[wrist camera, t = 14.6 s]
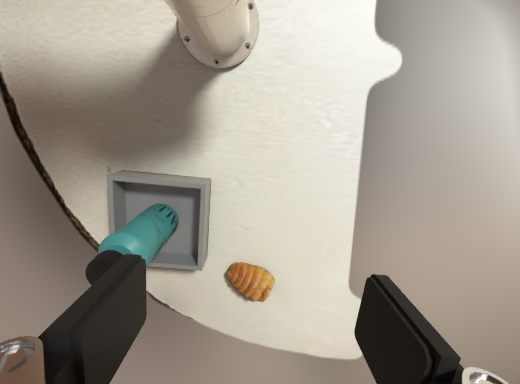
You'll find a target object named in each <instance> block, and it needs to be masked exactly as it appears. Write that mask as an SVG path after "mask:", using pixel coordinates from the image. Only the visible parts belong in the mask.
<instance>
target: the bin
mask: <svg viewBox="0 0 520 384" xmlns="http://www.w3.org/2000/svg"><path fill="white" fill-rule="evenodd" d="M107 179H108V200H109V220H110V235H111V234H113V233H114V232H116V231H117V230H118V229H120V228H121V227H123V226H124V225H126V224H127V223H128V222H130V221H131V220H133V219H134V218H135V217H136V216H138V215H139V213H140V214H141V213H142V212H143V210H144V211H145V210H146V208H147V209H148V208H149V207H150V206H152V205H155V204H160V203H162V204H166V205H168V206H170V207H172V208H173V209H174V210H175V211H176V213H177V215H178V218H179V219H178V220H179V222H178V225H179V226H178V228H177V229H176V231H175V232H174V233H173V235H172V236H170V238H169V239H168V241H167V243H165V244H164V245H163V247H162V248H161V249H160V250H159V251H160V252H157V253H158V254H156V255H155V256H156V257H155V256H154V257H153V258H154V259H153V260H151V261H150V262H149V263H148V264H147V266H151V267H163V268H175V269H188V270H200V271H202V269H203V266H204V264H205V261H206V258H207V249H208V231H209V213H210V194H211V179H210V178H199V177H189V176H179V175H168V174H158V173H147V172H137V171H126V170H122V171H119V172H116V173H113V174H109V175H107Z"/></svg>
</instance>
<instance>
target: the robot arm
mask: <svg viewBox="0 0 520 384" xmlns="http://www.w3.org/2000/svg"><path fill="white" fill-rule="evenodd" d="M165 2H166V3H167V4H168V6H169V7H170V9H171V10H172V11H173V13H174V14H175V16H176V17H177V18H178V27H179V31H180V36H181V38H182V40H183V43H184V44H185V46H186V48H187V49H188V51H189V52H190V53H191V54H192V55H193V56H194V57H195V58H196V59H197V60H198V61H200V62H201V63H203V64H205V65H207V66H210V67H214V68H228V67H232V66H235V65H237V64H239V63H240V62H242V61H243V60H244V59H245V58H246V57H247V56H248V55H249V54H250V53H251V51H252V49H253V48H254V46H255V43H256V41H257V37H258V32H259V16H258V11H257V7H256V5H255V2H254V0H165ZM250 7H251V8H252V9H251V10H250V9H249V8H250ZM188 39H190V41H189V42H187V40H188ZM247 46H249V49H247V48H246V47H247ZM217 61H218V62H219V63H218V64H216V62H217ZM145 319H146V260H145V259H142V257H141V255H135V254H125V255H123V256H122V257H121V258H120V259H119V260H118V261H117V262H116V263H115V264H114V265H113V266H112V267H111V268H110V269H109V270H108V271H107V272H106V273H105V274H103V275H102V276H101V277H100V278H99V279H98V280H97V281H96V282H95V283H94V284H93V285H92V286H91V287H90V288H89V289H88V290H87V291H86V292H85V293H84V294H83V295H81V296H80V297H79V298H78V299H77V300H76V301H75V302H74V303H73V304H72V305H71V306H70V307H69V308H68V309H67V310H66V311H65V312H64V313H63V314H62V315H61V316H60V317H58V318H57V319H56V320H55V321H54V322H53V323H52V324H51V325H50V326H49V327H48V328H47V329H46V330H45V331H44V332H43V333H42V334H41V335H40V336H39V337H38V338H37V337H32V336H24V337H17V338H14V339H10V340H7V341H4V342H2V343H0V384H109V383H110V381H111V380H112V378H113V376H114V375H115V373H116V371H117V369H118V368H119V366H120V364H121V362H122V361H123V359H124V357H125V356H126V354H127V352H128V350H129V349H130V347H131V345H132V343H133V342H134V340H135V338H136V337H137V335H138V333H139V331H140V330H141V328H142V326H143V324H144V322H145ZM355 338H356V341H357V343H358V345H359V347H360V349H361V351H362V353H363V355H364V358H365V360H366V362H367V364H368V366H369V368H370V370H371V372H372V374H373V377H374V379H375V381H376V383H377V384H508V383H507V382H505V381H504V380H503V379H501V378H500V377H498V376H496V375H494V374H493V373H491V372H488V371H486V370H483V369H479V368H476V367H468V368H466V369H464V368H463V367H462V366H461V365H460V364H459V362H460V359H461V358H460V357H459V356H458V354H457V353H456V352H455V351H454V350H453V349H452V348H451V347H450V346H449V344H448V343H447V342H446V341H445V340H444V339H443V338H442V337H441V335H440V334H439V333H438V332H437V331H436V330H435V329H434V328H433V326H432V325H431V324H430V323H429V322H428V321H427V320H426V319H425V318H424V316H423V315H422V314H421V313H420V312H419V311H418V310H417V308H416V307H415V306H414V305H413V304H412V303H411V302H410V301H409V300H408V298H407V297H406V296H405V295H404V294H403V293H402V292H401V290H400V289H399V288H398V287H397V286H396V285H395V284H394V283H393V282H392V280H391V279H390V278H389V277H388V276H386V275H375V274H373V275H371V277H370V278H367V280H366V283H365V287H364V292H363V296H362V300H361V305H360V309H359V313H358V318H357V322H356V326H355Z"/></svg>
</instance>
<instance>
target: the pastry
mask: <svg viewBox="0 0 520 384" xmlns="http://www.w3.org/2000/svg"><path fill="white" fill-rule="evenodd" d="M227 277H228V280H229V281H230V282H231V284H232V286H233V287H235V288H236V289H237V291H238V292H240V293H241V294H242V295H243V296H245V297H248V298H249V300H251V301H255V300H257V301H260V302H264V301H265V300H266V299H267V297H268V296H269V295H270V292H271V290H272V288H273V285H274V281H275V279H274V277H273V276H272V275H271V274H270V273H269V272H268V271H267V270H265V269H263V268H261V267H258V266H255V265H251V264H247V263H242V262H241V263H234V264H232V265H231V267H230V268H229V271H228V272H227Z"/></svg>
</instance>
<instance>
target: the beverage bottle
mask: <svg viewBox="0 0 520 384" xmlns="http://www.w3.org/2000/svg"><path fill="white" fill-rule="evenodd" d="M178 219H179V218H178V215H177V213H176V211H175V210H174V209H173V208H172V207H170V206H168V205H166V204H162V203H160V204H155V205H152V206H150V207H149V208H148V209H147V208H146V210H145V211H144V210H143V212H142V213H141V214H140V213H139V215H138V216H136V217H135V218H134V219H133V220H131V221H130V222H128V223H127V224H126V225H124V226H123V227H121V228H120V229H118V230H117V231H116V232H114V233H113V234H111V235H109V236H108V237H106V238H105V239H104V240H103V241H102V242H101V244H100V246H99V249H98V255H97V256H96V257H95V258H94V259H93V260H92V261H91V262H90V263H89V264H88V266H87V268H86V277H87V280H88V281H89V283H90V284H91V285H93V284H94V283H95V282H96V281H97V280H98V279H99V278H100V277H101V276H102V275H103V274H105V273H106V272H107V271H108V270H109V269H110V268H111V267H112V266H113V265H114V264H115V263H116V262H117V261H118V260H119V259H120V258H121V257H122V256H123V255H125V254H135V255H141V257H142V259H145V260H146V266H147V264H148V263H149V262H150V261H151V260H153V259H154V258H153V257H154V256H155V255H156V254H158V253H157V252H160V251H159V250H160V249H161V248H162V247H163V245H164V244H165V243H167V241H168V239H169V238H170V236H172V235H173V233H174V232H175V231H176V229H177V228H178V226H179V225H178V222H179V220H178ZM155 257H156V256H155Z"/></svg>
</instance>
